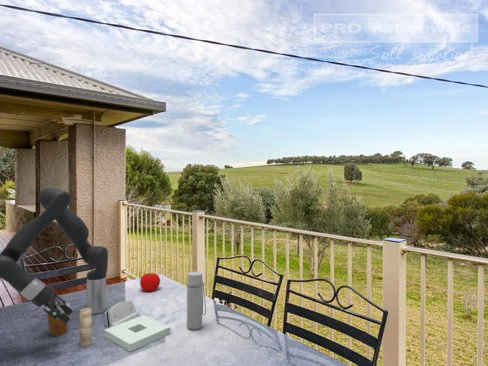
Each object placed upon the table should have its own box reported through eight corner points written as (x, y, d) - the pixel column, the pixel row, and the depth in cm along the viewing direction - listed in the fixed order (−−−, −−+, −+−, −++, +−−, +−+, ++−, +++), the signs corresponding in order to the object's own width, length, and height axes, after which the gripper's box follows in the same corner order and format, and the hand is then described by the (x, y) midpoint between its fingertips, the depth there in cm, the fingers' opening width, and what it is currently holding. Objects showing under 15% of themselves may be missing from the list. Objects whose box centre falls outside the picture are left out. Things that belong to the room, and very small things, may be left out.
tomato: (136, 292, 198) (136, 275, 198) (145, 286, 210) (145, 270, 210) (154, 293, 196) (155, 276, 196) (162, 287, 208) (162, 271, 208)
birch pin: (77, 344, 136) (77, 310, 136) (88, 340, 139) (88, 307, 139) (82, 347, 133) (82, 313, 133) (93, 343, 136) (93, 309, 136)
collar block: (104, 336, 142) (104, 329, 142) (143, 321, 158) (143, 315, 158) (130, 351, 130) (130, 344, 130) (170, 333, 145) (170, 326, 145)
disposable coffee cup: (75, 329, 149) (75, 303, 148) (57, 339, 140) (57, 311, 139) (59, 326, 152) (59, 300, 152) (40, 335, 143) (40, 308, 143)
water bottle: (189, 332, 147) (189, 276, 147) (184, 325, 154) (184, 272, 153) (208, 328, 151) (209, 274, 151) (202, 321, 158) (203, 269, 158)
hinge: (114, 330, 149) (108, 308, 150) (107, 331, 150) (101, 310, 152) (139, 316, 164) (134, 296, 165) (132, 317, 166) (127, 298, 167)
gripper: (41, 290, 124) (75, 316, 128) (48, 279, 137) (78, 303, 141) (24, 306, 122) (59, 332, 126) (33, 293, 135) (65, 317, 140)
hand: (69, 316), depth 134 cm, fingers open, 8 cm apart
